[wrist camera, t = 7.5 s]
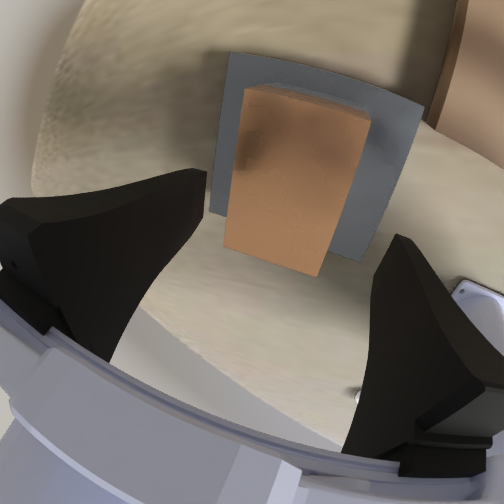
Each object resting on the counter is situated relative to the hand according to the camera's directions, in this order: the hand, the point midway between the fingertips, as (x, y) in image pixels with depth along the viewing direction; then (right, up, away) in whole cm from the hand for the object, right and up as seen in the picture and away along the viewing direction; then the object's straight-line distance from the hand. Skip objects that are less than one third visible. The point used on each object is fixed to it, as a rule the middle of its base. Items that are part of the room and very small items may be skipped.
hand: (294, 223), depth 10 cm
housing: (+1, +4, +6) cm, 7 cm away
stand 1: (+2, +6, +8) cm, 10 cm away
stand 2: (+15, +9, 0) cm, 18 cm away
